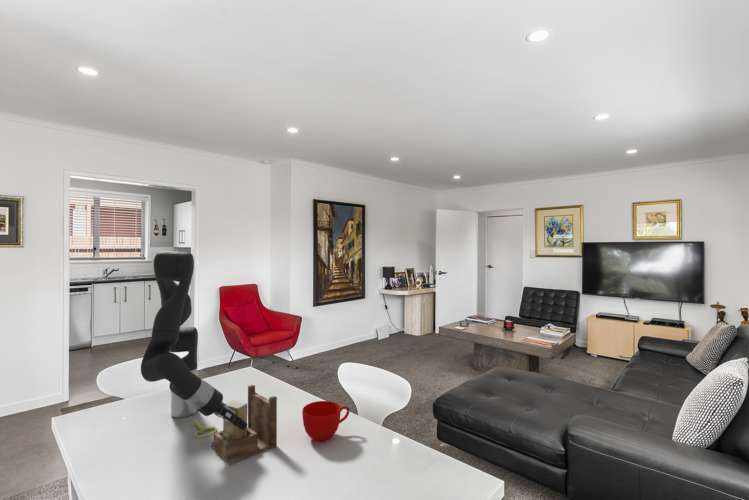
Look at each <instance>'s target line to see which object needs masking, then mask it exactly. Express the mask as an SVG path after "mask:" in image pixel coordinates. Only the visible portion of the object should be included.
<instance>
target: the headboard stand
mask: <svg viewBox="0 0 749 500" xmlns="http://www.w3.org/2000/svg"><path fill="white" fill-rule="evenodd" d="M277 401H278V396H276V395H274V396H272V395H271V396H270V397H268V398H266V397H265V396H263V395H261V394H259V393H258V392H256V385H254V384H250V385H248V386H247V424H248V425H247V436H245V437H242V438H239V439H237V440H234V441H231V442H228V441H227V440H226V439H225V438H223V430H219V431H217V432H216V433H214V434H213V442H211V443H210V447H211V448H212V450H214V451H215V452H216V453H217V454H218V455H219V456H220V457H222V458H223V459H224V460H225V461H226V462H227V463H228V464H229V465H233V464H236V463H238V462H241V461H243V460H246V459H248V458H251V457H253V456H256V455H257V454H261V453H263V452H265V451H268V450H270V449H272V448H275V447H278V445H277V444H278V441H277V440H278V431H277V430H278V428H277V427H278V426H277V425H278V422H277V421H278V417H277V415H278V411H277V409H278V406H277V405H278V403H277Z"/></svg>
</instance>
